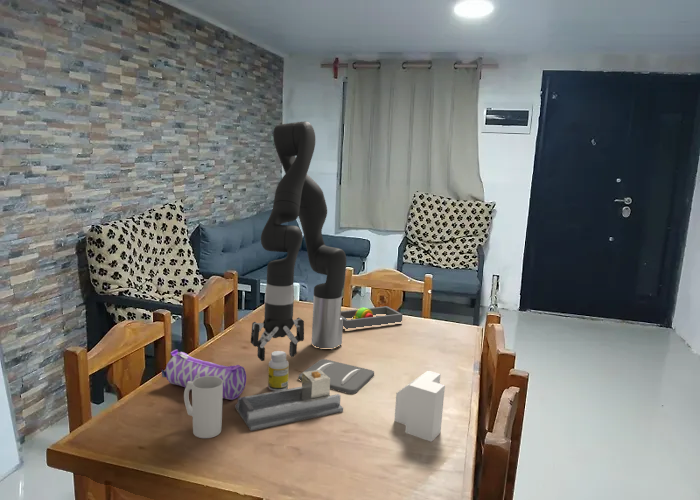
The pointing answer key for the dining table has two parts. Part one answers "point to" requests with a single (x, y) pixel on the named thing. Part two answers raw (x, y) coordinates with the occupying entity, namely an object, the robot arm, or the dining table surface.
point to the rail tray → (290, 403)
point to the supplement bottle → (278, 371)
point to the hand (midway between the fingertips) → (277, 358)
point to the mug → (205, 405)
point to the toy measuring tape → (363, 313)
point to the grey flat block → (342, 375)
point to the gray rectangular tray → (390, 317)
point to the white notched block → (421, 406)
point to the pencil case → (204, 373)
